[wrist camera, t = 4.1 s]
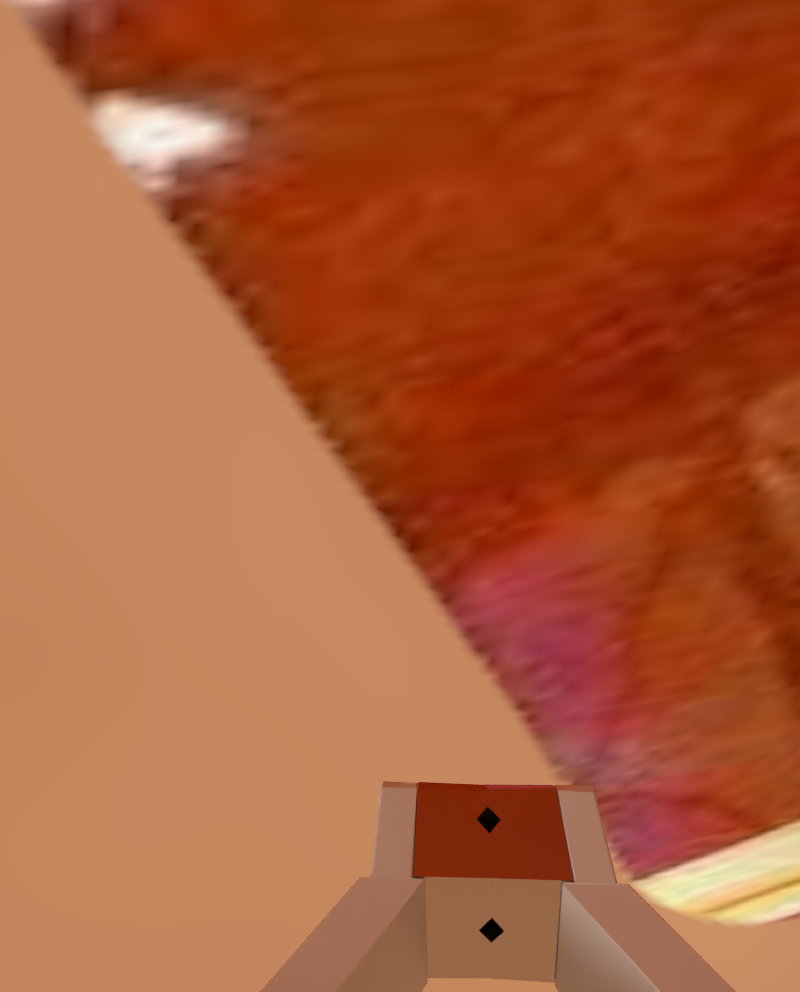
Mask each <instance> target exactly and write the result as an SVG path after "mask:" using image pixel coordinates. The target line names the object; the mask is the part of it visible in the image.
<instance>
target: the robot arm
mask: <svg viewBox="0 0 800 992" xmlns="http://www.w3.org/2000/svg"><path fill="white" fill-rule="evenodd" d="M427 978H493V979H508V980H525V981H539V982H555V986H556V988H557V990H558V991H559V992H735V991H734V990H733V989H732V988H731V986H729V984H727V983H726V981H724V979H723V978H722V977H721V976H719V974H718V973H717V972H716V971H715V970H714V969H712V967H711V966H710V965H709V964H707V962H706V961H705V960H704V959H703V958H702V957H701V956H700V955H699V954H698V953H697V952H696V951H695V950H694V949H693V948H692V947H691V946H690V945H688V944H687V942H686V941H685V940H684V939H683V938H682V937H681V936H680V935H679V934H678V933H677V932H676V931H675V930H674V929H673V928H672V927H671V926H670V925H669V924H668V923H667V922H666V921H665V920H664V919H663V918H662V917H661V916H660V915H659V914H658V913H657V912H656V911H655V910H654V909H653V908H652V907H651V906H650V905H649V904H648V903H647V902H646V901H645V900H644V899H643V898H642V897H641V896H640V895H639V894H638V893H637V892H636V891H635V890H634V889H633V888H632V887H631V886H630V885H629V884H618V883H617V880H616V876H615V872H614V868H613V864H612V860H611V856H610V852H609V848H608V844H607V840H606V836H605V832H604V828H603V824H602V820H601V816H600V812H599V808H598V804H597V800H596V796H595V792H594V790H593V789H592V787H591V786H590V785H555V786H553V785H473V784H449V783H426V782H419V783H405V782H386V781H384V782H383V784H382V787H381V791H380V799H379V808H378V816H377V825H376V834H375V843H374V852H373V861H372V871H371V877H360V878H359V879H358V880H357V881H356V882H355V884H354V885H353V886H352V887H351V888H350V889H349V891H348V892H347V893H346V894H345V895H344V896H343V897H342V899H341V900H340V901H339V902H338V903H337V904H336V906H335V907H334V908H333V909H332V910H331V911H330V912H329V913H328V915H327V916H326V917H325V918H324V919H323V920H322V921H321V923H320V924H319V925H318V926H317V927H316V928H315V929H314V931H313V932H312V933H311V934H310V935H309V936H308V937H307V939H306V940H305V941H304V942H303V943H302V944H301V945H300V947H299V948H298V949H297V950H296V951H295V952H294V953H293V955H292V956H291V957H290V958H289V959H288V960H287V961H286V963H285V964H284V965H283V966H282V967H281V969H280V970H279V971H278V972H277V973H276V974H275V976H273V978H272V979H271V980H270V981H269V982H268V983H267V984H266V986H265V987H264V988H263V989H262V990H261V991H260V992H422V991H423V989H424V987H425V985H426V984H427Z"/></svg>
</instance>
